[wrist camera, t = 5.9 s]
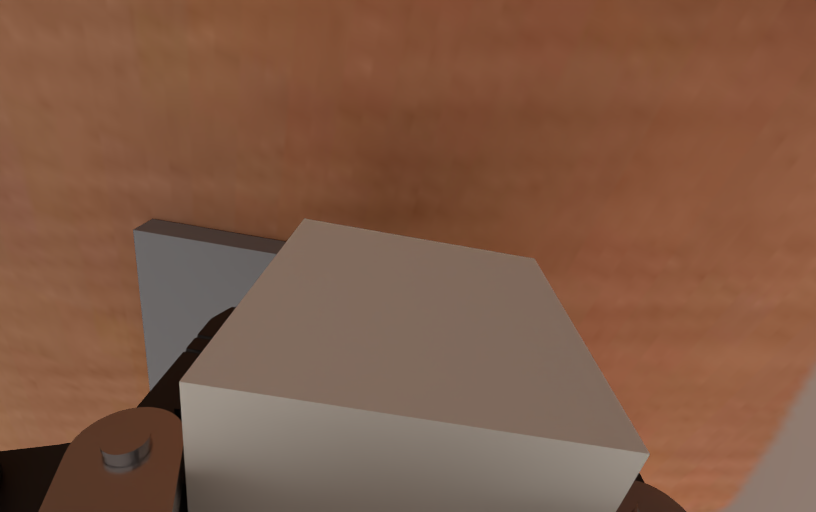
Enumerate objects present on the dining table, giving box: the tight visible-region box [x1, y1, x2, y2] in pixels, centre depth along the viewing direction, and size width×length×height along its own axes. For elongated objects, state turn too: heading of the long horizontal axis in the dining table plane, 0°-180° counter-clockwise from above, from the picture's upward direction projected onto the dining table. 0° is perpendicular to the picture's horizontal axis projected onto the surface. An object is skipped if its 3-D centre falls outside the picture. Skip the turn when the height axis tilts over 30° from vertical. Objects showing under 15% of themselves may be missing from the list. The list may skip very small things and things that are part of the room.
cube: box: [179, 219, 650, 512], centre depth 8 cm, size 5×5×5 cm
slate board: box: [133, 219, 286, 391], centre depth 29 cm, size 16×14×2 cm
